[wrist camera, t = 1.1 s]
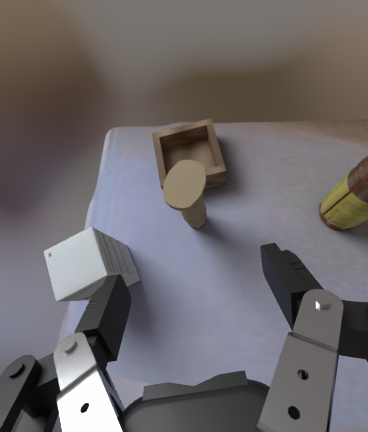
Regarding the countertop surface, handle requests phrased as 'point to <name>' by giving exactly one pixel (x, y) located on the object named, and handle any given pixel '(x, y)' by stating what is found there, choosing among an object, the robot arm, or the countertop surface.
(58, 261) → the supplement box
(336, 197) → the sauce bottle
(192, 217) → the handle
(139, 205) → the countertop surface
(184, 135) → the open wooden box
